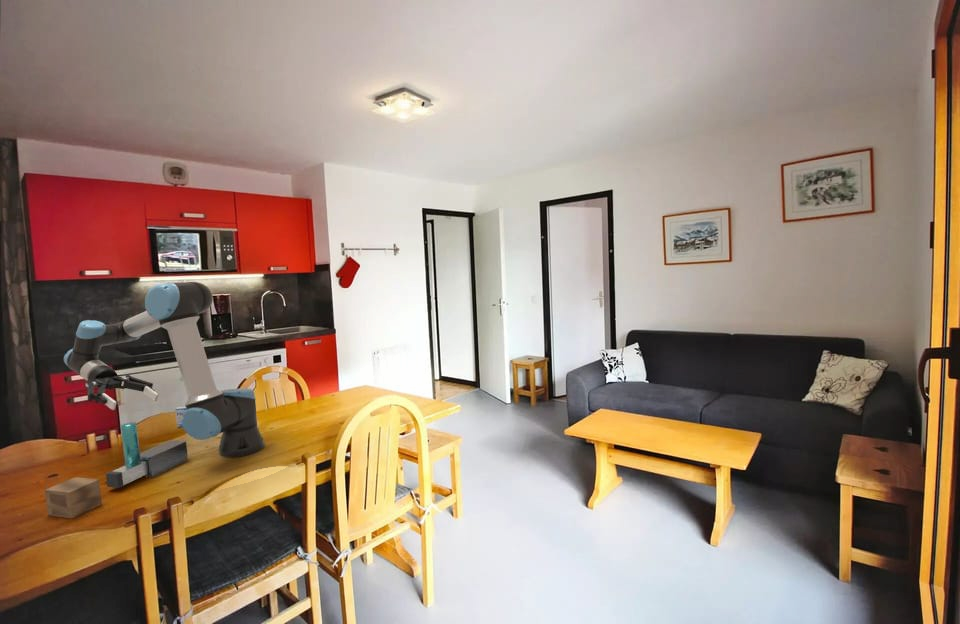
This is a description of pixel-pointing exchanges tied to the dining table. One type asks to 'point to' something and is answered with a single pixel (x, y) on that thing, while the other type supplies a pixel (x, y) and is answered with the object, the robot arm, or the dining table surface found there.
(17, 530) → the dining table surface
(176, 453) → the sleeve
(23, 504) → the dining table surface
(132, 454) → the sliding bar with handle
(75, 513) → the socket block
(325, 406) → the dining table surface
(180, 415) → the medicine box
